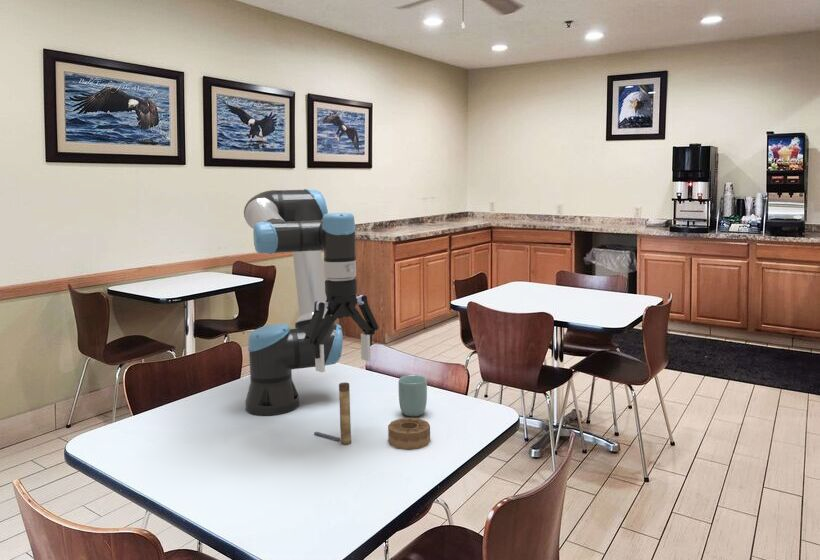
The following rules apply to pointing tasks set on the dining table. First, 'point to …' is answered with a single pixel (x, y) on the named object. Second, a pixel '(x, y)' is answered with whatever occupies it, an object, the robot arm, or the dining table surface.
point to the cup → (412, 395)
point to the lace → (327, 436)
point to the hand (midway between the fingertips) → (343, 365)
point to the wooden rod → (345, 413)
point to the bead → (409, 433)
